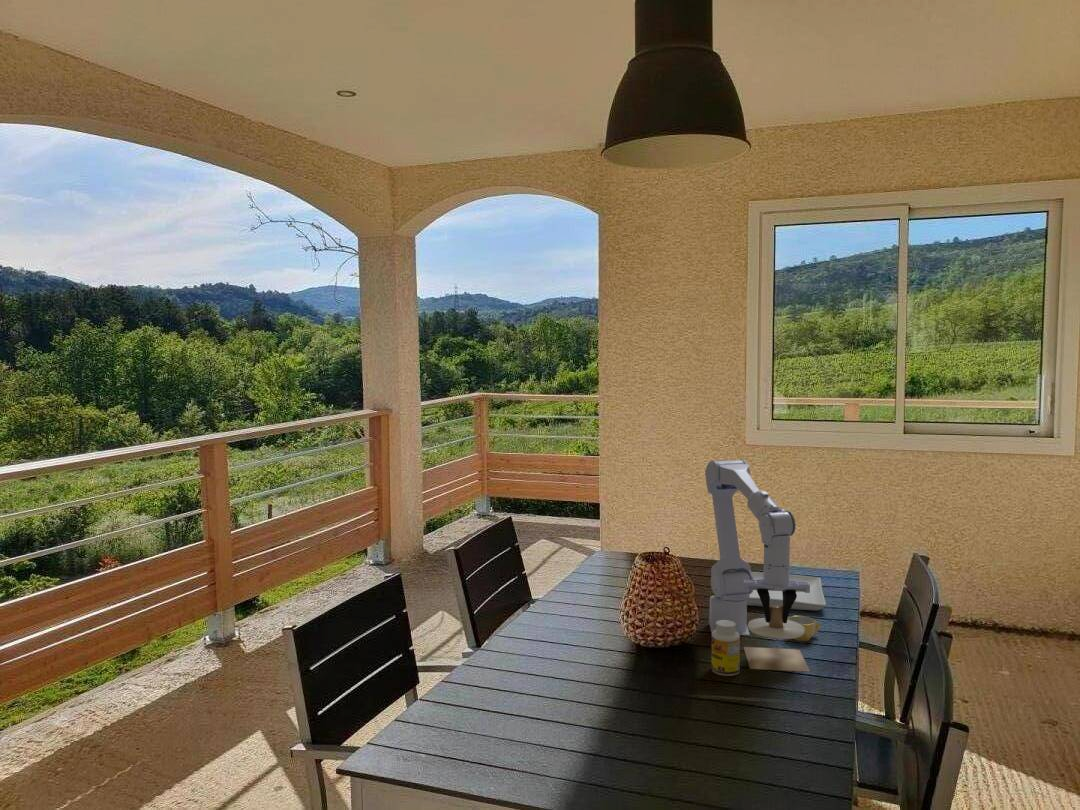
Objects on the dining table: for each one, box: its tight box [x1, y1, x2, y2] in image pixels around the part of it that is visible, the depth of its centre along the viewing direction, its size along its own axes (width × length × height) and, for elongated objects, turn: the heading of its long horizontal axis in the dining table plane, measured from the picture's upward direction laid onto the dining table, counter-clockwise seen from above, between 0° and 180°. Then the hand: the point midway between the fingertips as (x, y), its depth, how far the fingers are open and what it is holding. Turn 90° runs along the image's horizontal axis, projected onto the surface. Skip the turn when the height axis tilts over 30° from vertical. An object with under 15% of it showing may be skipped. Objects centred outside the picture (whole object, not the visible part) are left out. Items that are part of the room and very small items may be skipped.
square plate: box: [747, 571, 827, 611], centre depth 226 cm, size 27×27×4 cm
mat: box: [743, 646, 811, 673], centre depth 178 cm, size 13×13×1 cm
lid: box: [747, 605, 805, 640], centre depth 177 cm, size 12×12×5 cm
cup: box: [787, 615, 821, 642], centre depth 191 cm, size 12×12×5 cm
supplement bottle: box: [711, 620, 741, 677], centre depth 171 cm, size 6×6×11 cm
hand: (775, 621), depth 177 cm, fingers closed on lid, 3 cm apart
